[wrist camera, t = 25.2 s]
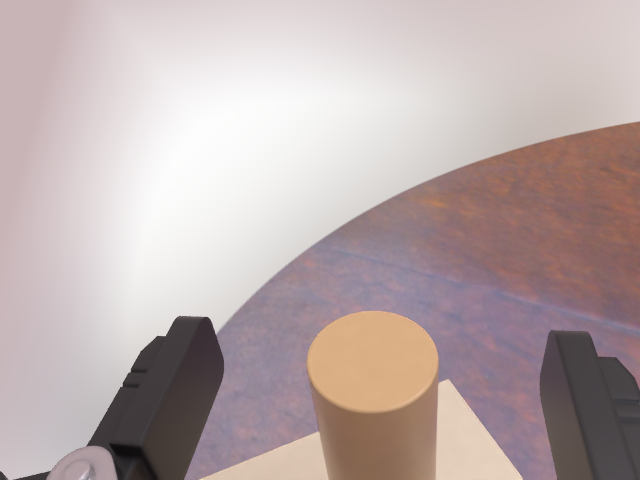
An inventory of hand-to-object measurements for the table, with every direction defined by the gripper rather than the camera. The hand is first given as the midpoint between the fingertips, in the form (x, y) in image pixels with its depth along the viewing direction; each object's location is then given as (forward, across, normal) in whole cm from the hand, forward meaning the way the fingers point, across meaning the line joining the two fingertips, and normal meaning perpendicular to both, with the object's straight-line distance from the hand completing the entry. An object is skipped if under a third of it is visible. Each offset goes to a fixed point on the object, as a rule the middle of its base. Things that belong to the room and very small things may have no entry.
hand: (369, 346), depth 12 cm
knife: (-2, 0, +14) cm, 14 cm away
